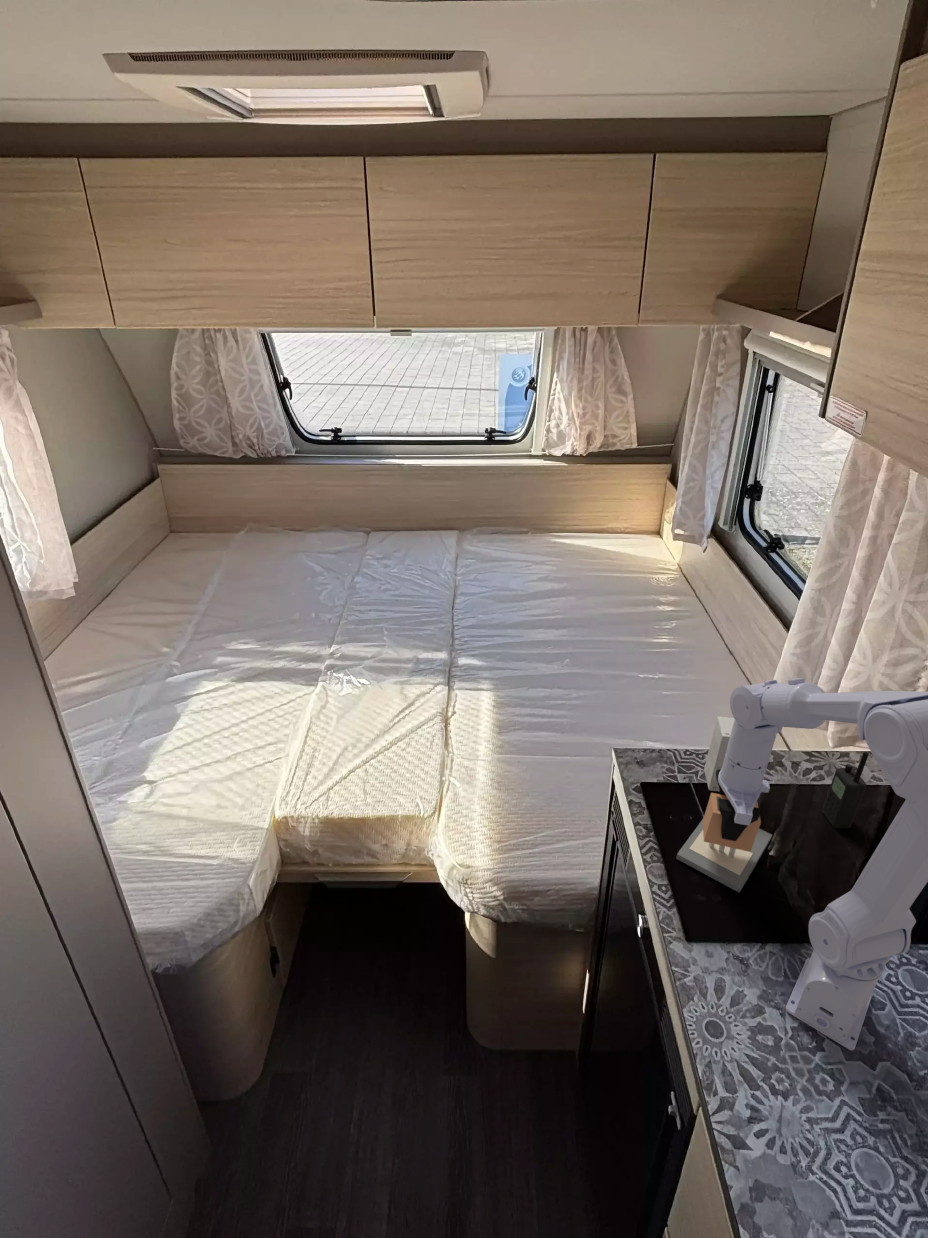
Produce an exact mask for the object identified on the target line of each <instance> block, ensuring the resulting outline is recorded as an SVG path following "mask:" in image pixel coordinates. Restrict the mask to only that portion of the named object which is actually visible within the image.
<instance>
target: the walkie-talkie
mask: <svg viewBox="0 0 928 1238" xmlns="http://www.w3.org/2000/svg"><path fill="white" fill-rule="evenodd" d="M869 755H870V754H869V752H868V751H863V753H862V755H861V756H860V757H861V758H860V760H859V763H858V765H857V767H856V770H855V769H854V767H853V765H852V764H849V763H847V764H846V765H845V767H838V768H836V769H835V772H834V775H833V777H832V779H831V782H830V786H829V789H828V791H827V794H826V797H825V800H824V802H823V806H822V808H821V813H822V814H823V815H824V816H825V818H826V819H827V821H828V822H829V824H831V825H832V827H834V829H850V828H851V827H852V825H853V822H854V819H855V817H856V814H857V812H858V809H859V807H860V804H861V801H862V799H863V796H864V793H865V791H866V788H867V782H865V781H864V779H863V778H862V777H861V776H862V775H863V774H862V773H863V771H864V768H865V765H866V763H867V760H868V758H869Z"/></svg>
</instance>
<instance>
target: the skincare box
mask: <svg viewBox="0 0 928 1238" xmlns="http://www.w3.org/2000/svg"><path fill="white" fill-rule="evenodd" d="M734 720H735V719H734V717H725V716H719V715H718V716H717V717H716V720H715V725H714V728H713V731H712V737H711V741H710V744H709V748H708V752H707V757H706V759H705V765H704V769H703V770H704V774H705V779H706V784H707V788H708V791H712V792H719V785H718V782H717V779H716V771H717V770H718V769H722V766H723V762H724V759H725V754H726V751H727V747H728V743H729V739H730V735H731V731H732V727H733V724H734Z"/></svg>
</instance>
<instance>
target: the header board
mask: <svg viewBox="0 0 928 1238" xmlns="http://www.w3.org/2000/svg"><path fill="white" fill-rule="evenodd" d="M772 837H773V834H772V833H769V832H768V831H765V830H764V829H762V828H759V830H758V832H757V835H756V838H755V841H754V843H753V846H752V849H751V852H748V851H744V850H739V849H735V848H730V847H726V846H721V845H717V844H713V843H708V842H704V837H703V818H702V819H701V820H700V822H699V824H698V825H697V826H696V828H695V829H694V830H693V832H692V833H691V834H690V836H689V837H688V839H687V840H686V841H685V842H684V844H683V845H682V846H681V848H680V849H679V851H678V852H677V854H676V858H675V859H676V860H678V861H679V862H682V863H684V864H686V865H687V866H689V867H691V868H693V869H695V870H696V871H698V872H700V873H702V874H704V875H706V876H708V877H710V878H711V879H713V880H715V881H717V882H719V883H721V884H722V885H724V886H726V887H728V888H730V889H731V890H733V891H735V892H737V893H741V891H742V889H743V887H744V885H746V882H747V881H748V880H749V877H750V875H751V874H752V873H753V870H754V868H755V867H756V866H757V864H758V863H759V860H760V859H761V857H762V855H763V853H764V852H765V850H766V849H767V847H768V845H769V844H770V842H771V840H772Z"/></svg>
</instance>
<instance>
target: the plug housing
mask: <svg viewBox="0 0 928 1238" xmlns="http://www.w3.org/2000/svg"><path fill="white" fill-rule="evenodd" d="M719 798H721V799H726V800H729V799H728V798H727V796H725V795H720V794H719V793H716V792H715V793H714V792H710V795H709V799H708V803H707V806H706V808H705V809H706V810H705V812H704V816H703V818H702V819H703V837H704V842H708V843H713V844H717V845H721V846H726V847H730V848H735V849H739V850H744V851H748V852H751V849H752V846H753V843H754V841H755V838H756V835H757V832H758V830H759V829H760V826H761V824H762V820H761V815H760V816H759V819H758V820H757V821H755V822H753V823H751V824H750V826H747V827H746V828H745V830H744V831H743V832H742V834H741V835H740V837H739V838H738V839H737V840H736V841H731V840H726V839H722V835H721V824H722V816H721V813H720V810H719V803H718V799H719ZM754 807H756V808H759V803H758V801H757V802H756V804H755V806H754Z"/></svg>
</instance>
